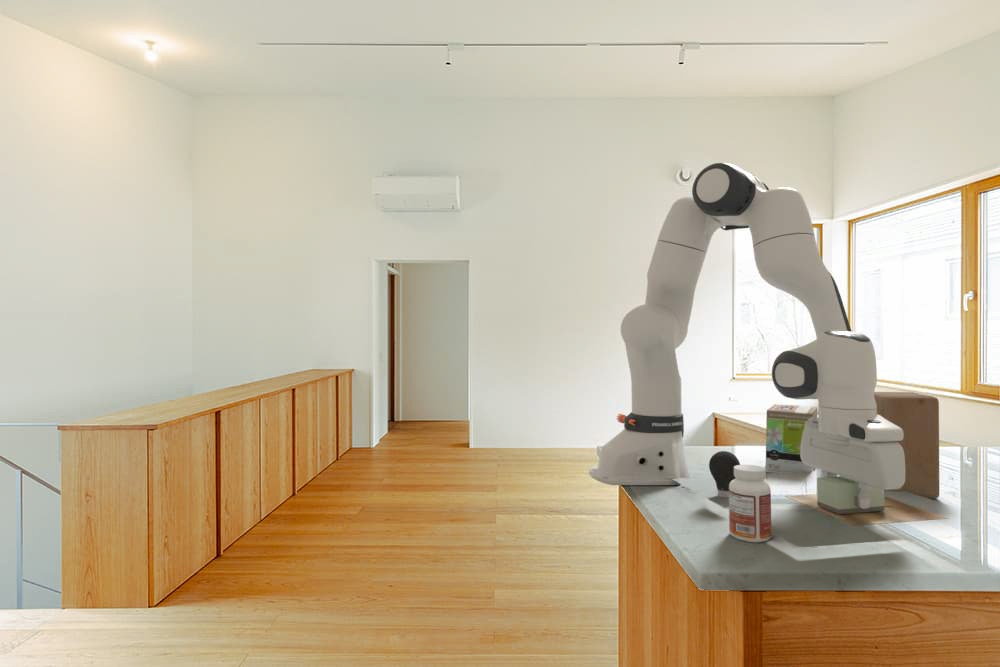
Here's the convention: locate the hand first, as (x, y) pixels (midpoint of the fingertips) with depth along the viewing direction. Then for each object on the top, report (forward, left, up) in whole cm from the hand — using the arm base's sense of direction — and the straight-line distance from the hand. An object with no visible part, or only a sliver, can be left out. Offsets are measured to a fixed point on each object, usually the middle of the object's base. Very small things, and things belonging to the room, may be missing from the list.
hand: (847, 501), depth 101 cm
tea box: (+15, +34, -3) cm, 37 cm away
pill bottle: (-22, -5, -3) cm, 23 cm away
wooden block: (+23, +12, -3) cm, 26 cm away
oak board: (+4, +1, -3) cm, 5 cm away
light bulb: (-16, +12, -3) cm, 20 cm away
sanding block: (0, 0, -1) cm, 1 cm away
